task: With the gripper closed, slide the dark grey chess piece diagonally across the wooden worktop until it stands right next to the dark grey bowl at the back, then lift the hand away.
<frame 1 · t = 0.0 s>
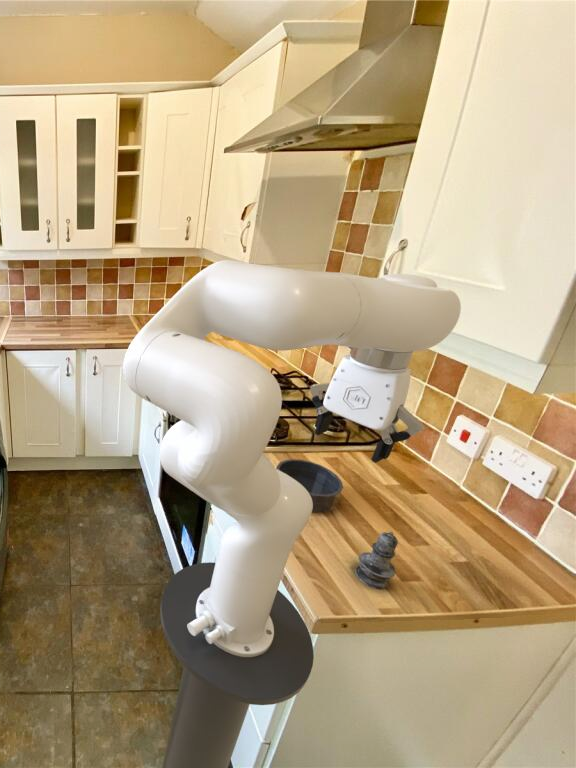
hand: (347, 445, 73), 28 cm above the worktop, tool pointing down, fingers open, 9 cm apart
dark grey chess piece: (370, 578, 81), on the worktop
dark grey bowl: (303, 492, 104), on the worktop
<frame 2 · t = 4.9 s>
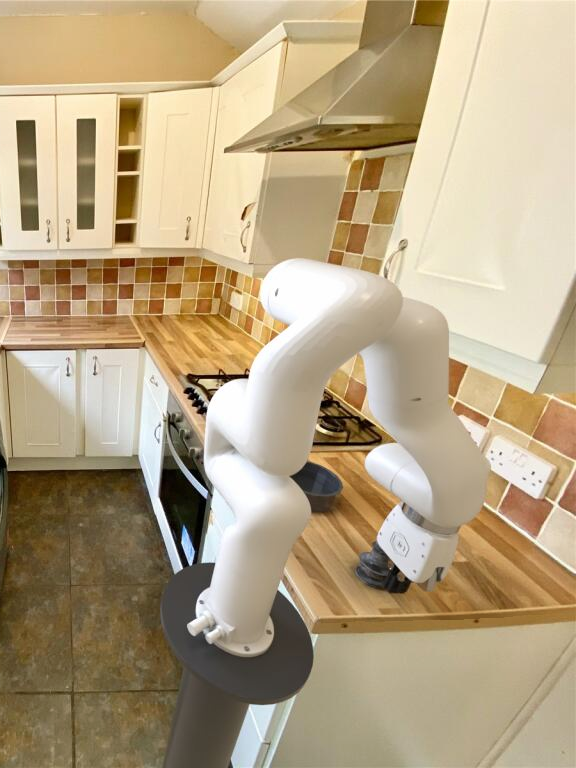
hand: (393, 589, 76), 2 cm above the worktop, tool pointing down, fingers closed
dark grey chess piece: (370, 577, 81), on the worktop, touching gripper
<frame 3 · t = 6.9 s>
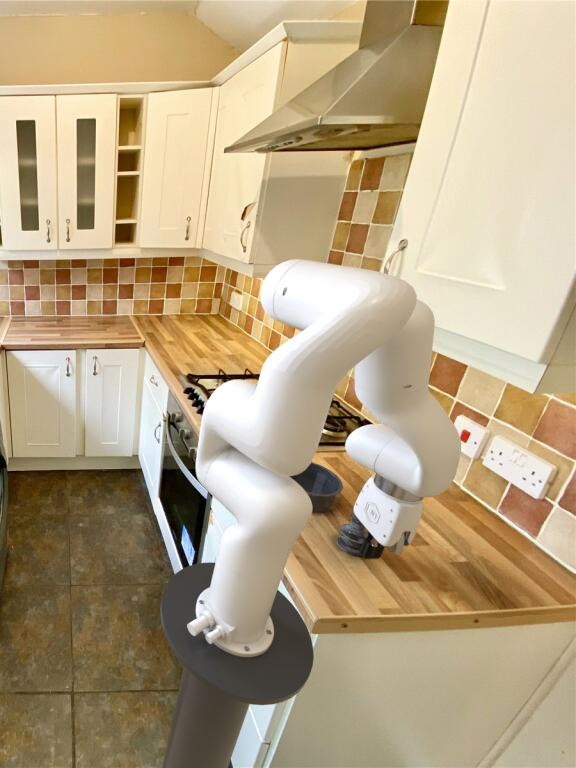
hand: (369, 555, 83), 2 cm above the worktop, tool pointing down, fingers closed
dark grey chess piece: (350, 546, 88), on the worktop, touching gripper
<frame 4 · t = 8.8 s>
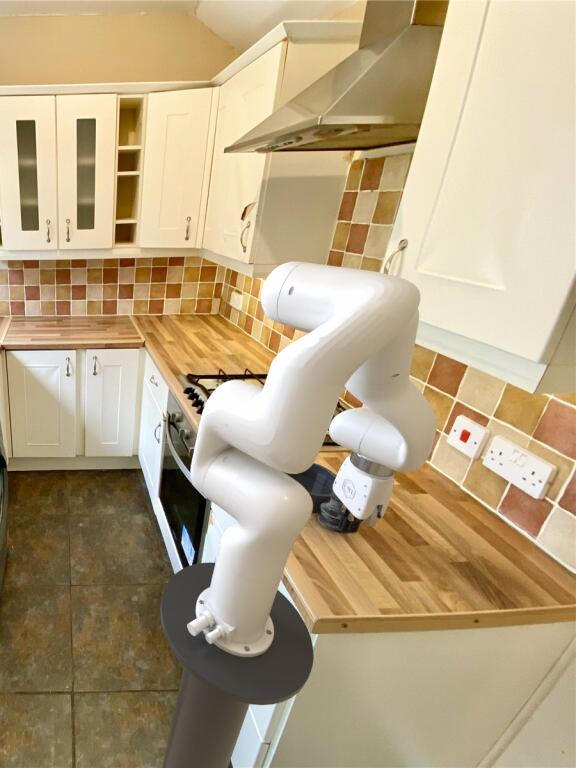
hand: (346, 530, 89), 2 cm above the worktop, tool pointing down, fingers closed
dark grey chess piece: (331, 523, 94), on the worktop, touching gripper
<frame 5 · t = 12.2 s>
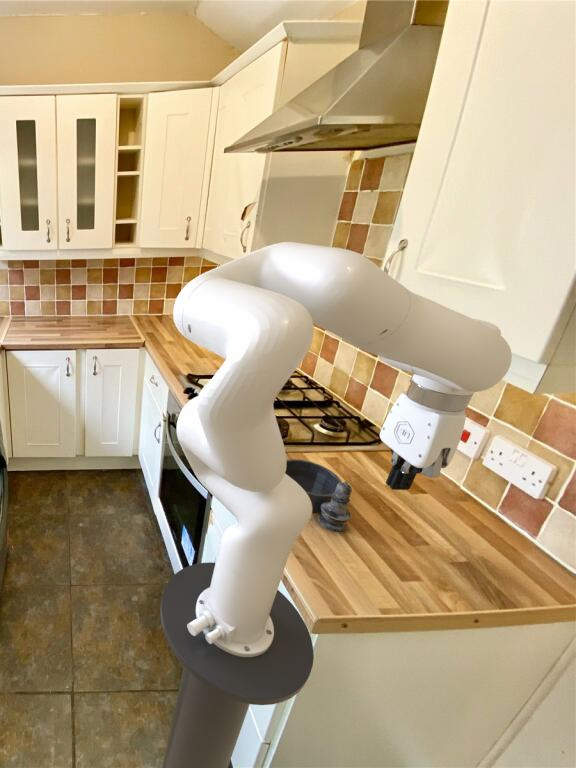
hand: (397, 486, 74), 21 cm above the worktop, tool pointing down, fingers closed
dark grey chess piece: (331, 523, 94), on the worktop
at the end: dark grey chess piece 10.5 cm from the dark grey bowl (horizontally); dark grey chess piece moved 14.6 cm from its start; dark grey chess piece tilted 0° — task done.
